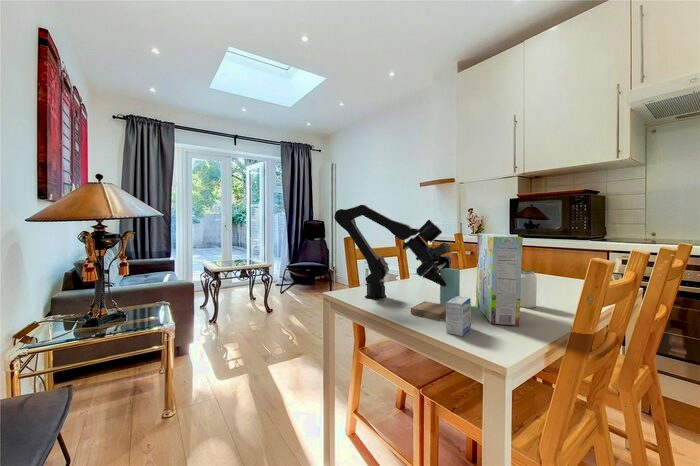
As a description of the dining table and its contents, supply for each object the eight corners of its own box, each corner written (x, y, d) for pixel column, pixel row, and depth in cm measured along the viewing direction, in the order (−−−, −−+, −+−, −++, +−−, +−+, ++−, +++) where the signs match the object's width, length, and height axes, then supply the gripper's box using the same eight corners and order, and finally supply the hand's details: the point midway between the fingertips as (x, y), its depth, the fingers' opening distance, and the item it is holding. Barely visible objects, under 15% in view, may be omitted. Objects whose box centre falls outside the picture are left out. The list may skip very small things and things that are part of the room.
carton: (440, 306, 105) (440, 269, 104) (445, 303, 109) (445, 268, 108) (454, 309, 102) (454, 271, 101) (459, 305, 105) (459, 269, 105)
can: (540, 308, 101) (541, 273, 101) (521, 308, 102) (521, 273, 101) (529, 303, 108) (529, 270, 107) (511, 303, 108) (511, 270, 107)
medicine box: (462, 336, 78) (462, 304, 78) (445, 333, 81) (445, 301, 80) (470, 328, 84) (471, 297, 84) (455, 324, 87) (455, 295, 87)
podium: (410, 313, 97) (410, 307, 97) (424, 306, 105) (424, 301, 105) (440, 320, 91) (440, 313, 91) (452, 312, 98) (452, 306, 98)
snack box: (523, 327, 84) (524, 236, 83) (490, 325, 86) (491, 236, 85) (500, 305, 106) (501, 232, 104) (474, 304, 107) (475, 232, 106)
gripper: (424, 237, 100) (457, 273, 94) (446, 234, 115) (476, 265, 108) (403, 258, 106) (433, 294, 99) (427, 253, 120) (454, 284, 113)
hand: (450, 283), depth 105 cm, fingers open, 9 cm apart
